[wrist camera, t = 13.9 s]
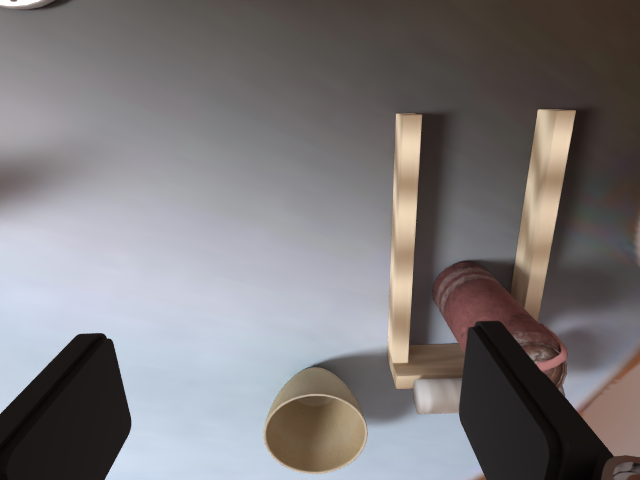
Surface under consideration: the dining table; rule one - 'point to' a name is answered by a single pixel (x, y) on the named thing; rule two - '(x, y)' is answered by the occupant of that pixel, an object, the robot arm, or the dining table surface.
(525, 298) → the bay
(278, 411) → the flower pot
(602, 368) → the dining table surface
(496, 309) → the can
